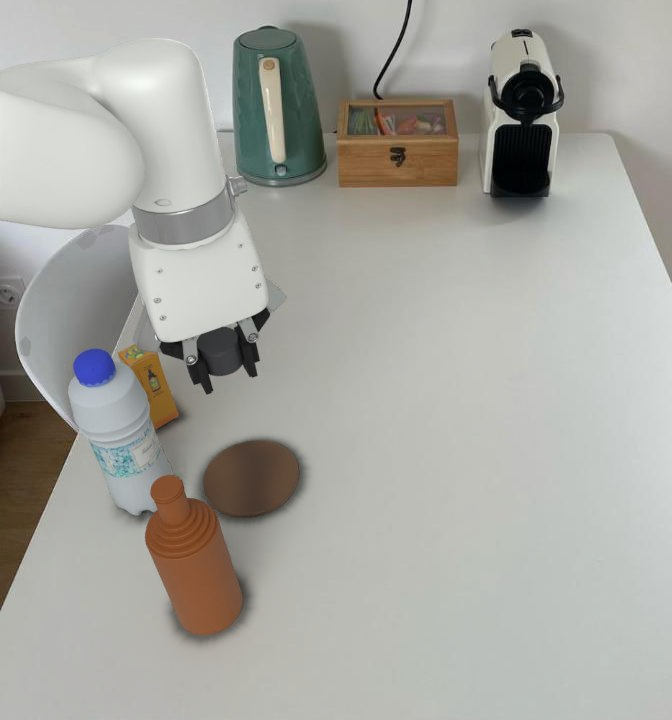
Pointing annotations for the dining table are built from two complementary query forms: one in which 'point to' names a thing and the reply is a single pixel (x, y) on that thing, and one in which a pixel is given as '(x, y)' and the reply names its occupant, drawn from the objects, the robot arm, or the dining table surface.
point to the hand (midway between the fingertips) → (226, 375)
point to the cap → (220, 351)
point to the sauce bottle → (192, 559)
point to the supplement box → (151, 384)
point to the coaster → (251, 479)
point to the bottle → (118, 428)
